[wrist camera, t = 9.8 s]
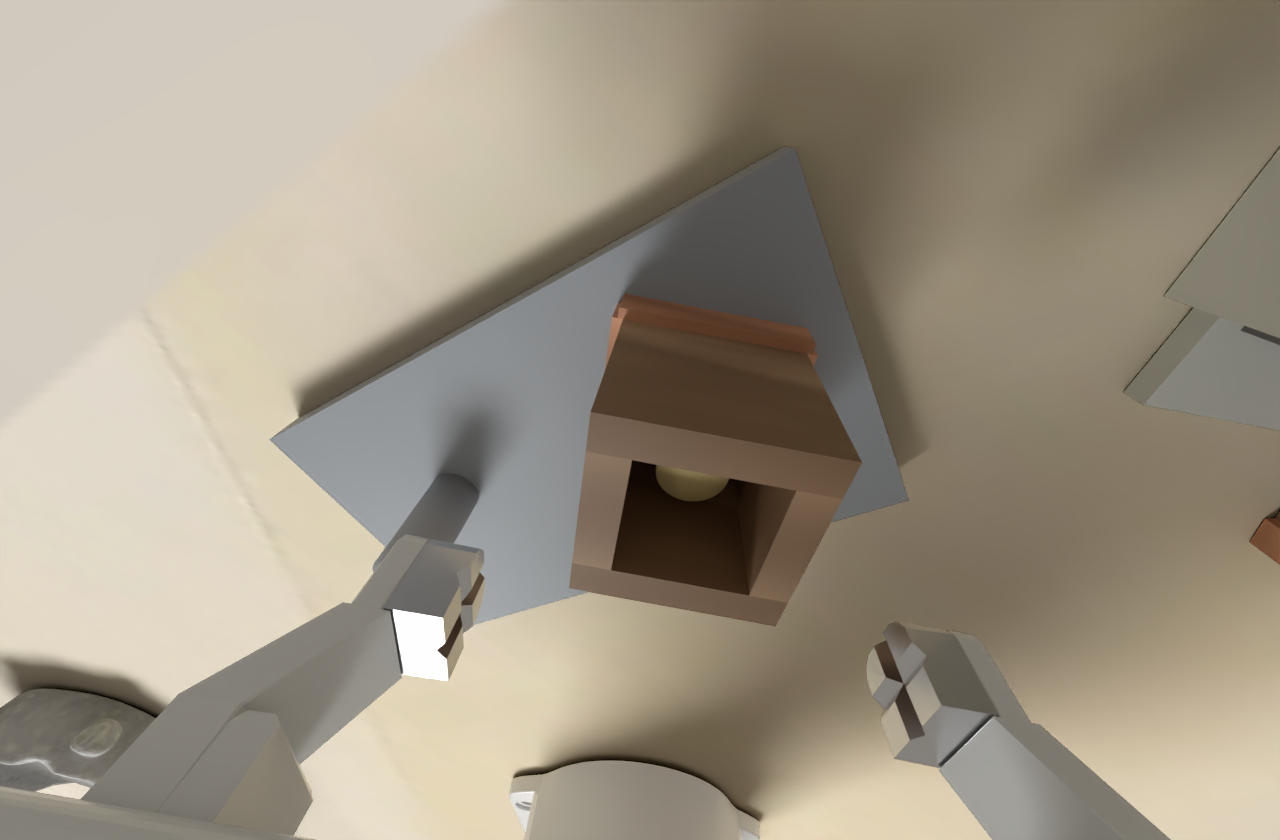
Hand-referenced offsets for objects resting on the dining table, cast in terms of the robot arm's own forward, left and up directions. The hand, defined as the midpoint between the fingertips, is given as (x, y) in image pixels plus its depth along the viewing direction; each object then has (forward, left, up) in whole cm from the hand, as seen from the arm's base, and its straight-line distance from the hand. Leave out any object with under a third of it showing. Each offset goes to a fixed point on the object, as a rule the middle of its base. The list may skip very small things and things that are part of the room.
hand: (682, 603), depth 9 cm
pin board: (-3, +3, -9) cm, 10 cm away
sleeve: (+1, 0, -7) cm, 7 cm away
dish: (-39, +37, -9) cm, 55 cm away
